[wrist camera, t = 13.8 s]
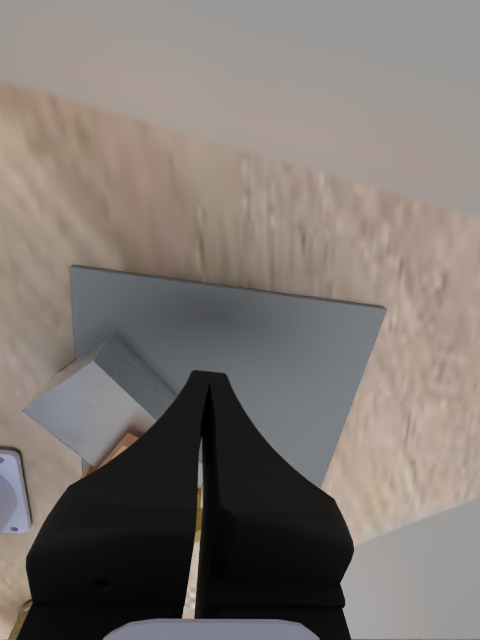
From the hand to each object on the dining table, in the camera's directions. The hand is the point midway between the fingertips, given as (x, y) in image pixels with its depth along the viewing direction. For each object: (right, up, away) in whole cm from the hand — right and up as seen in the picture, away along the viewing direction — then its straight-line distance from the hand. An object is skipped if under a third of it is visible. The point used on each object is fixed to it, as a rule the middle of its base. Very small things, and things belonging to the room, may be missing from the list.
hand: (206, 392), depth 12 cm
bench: (0, -3, +8) cm, 8 cm away
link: (-4, -4, +8) cm, 9 cm away
